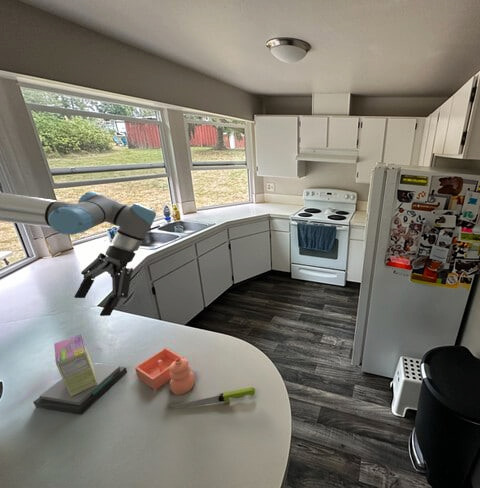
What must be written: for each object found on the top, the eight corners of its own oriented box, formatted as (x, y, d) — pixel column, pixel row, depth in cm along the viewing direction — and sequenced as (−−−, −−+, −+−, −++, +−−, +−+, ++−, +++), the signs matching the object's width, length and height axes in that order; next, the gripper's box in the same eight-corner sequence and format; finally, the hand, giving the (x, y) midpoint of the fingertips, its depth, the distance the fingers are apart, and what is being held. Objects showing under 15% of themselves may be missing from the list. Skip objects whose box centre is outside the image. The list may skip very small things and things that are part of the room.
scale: (35, 407, 67) (31, 398, 66) (88, 366, 80) (85, 358, 79) (81, 414, 66) (77, 406, 65) (127, 372, 79) (124, 364, 78)
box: (66, 375, 73) (53, 343, 69) (92, 364, 77) (81, 333, 73) (69, 398, 67) (55, 363, 63) (97, 384, 71) (86, 351, 67)
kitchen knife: (171, 415, 68) (169, 407, 67) (173, 410, 69) (170, 403, 68) (255, 397, 72) (254, 390, 71) (255, 393, 73) (254, 386, 72)
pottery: (137, 377, 77) (130, 352, 74) (167, 357, 85) (162, 333, 82) (174, 403, 70) (168, 377, 66) (204, 378, 78) (199, 353, 74)
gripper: (159, 263, 84) (127, 322, 82) (112, 237, 92) (82, 291, 89) (138, 259, 77) (103, 324, 75) (89, 232, 84) (55, 290, 82)
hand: (91, 306), depth 82 cm, fingers open, 13 cm apart
